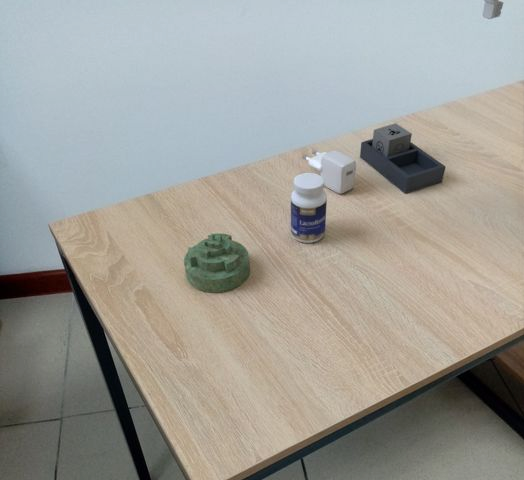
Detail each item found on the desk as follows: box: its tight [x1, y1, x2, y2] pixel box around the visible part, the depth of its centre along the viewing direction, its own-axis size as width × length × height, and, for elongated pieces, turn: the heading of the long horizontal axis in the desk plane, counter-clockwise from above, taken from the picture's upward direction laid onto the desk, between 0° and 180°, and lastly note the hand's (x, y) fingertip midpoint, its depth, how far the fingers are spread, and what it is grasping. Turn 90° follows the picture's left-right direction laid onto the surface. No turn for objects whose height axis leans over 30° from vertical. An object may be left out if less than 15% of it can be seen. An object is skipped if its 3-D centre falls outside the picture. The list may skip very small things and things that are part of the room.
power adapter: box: [301, 149, 357, 195], centre depth 97 cm, size 11×5×6 cm, turn 38°
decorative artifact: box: [183, 232, 251, 294], centre depth 81 cm, size 10×7×10 cm
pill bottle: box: [290, 172, 328, 244], centre depth 85 cm, size 6×6×10 cm
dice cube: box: [372, 122, 413, 157], centre depth 101 cm, size 5×5×5 cm
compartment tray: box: [359, 138, 446, 194], centre depth 100 cm, size 8×15×3 cm, turn 25°
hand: (518, 10), depth 71 cm, fingers open, 8 cm apart
